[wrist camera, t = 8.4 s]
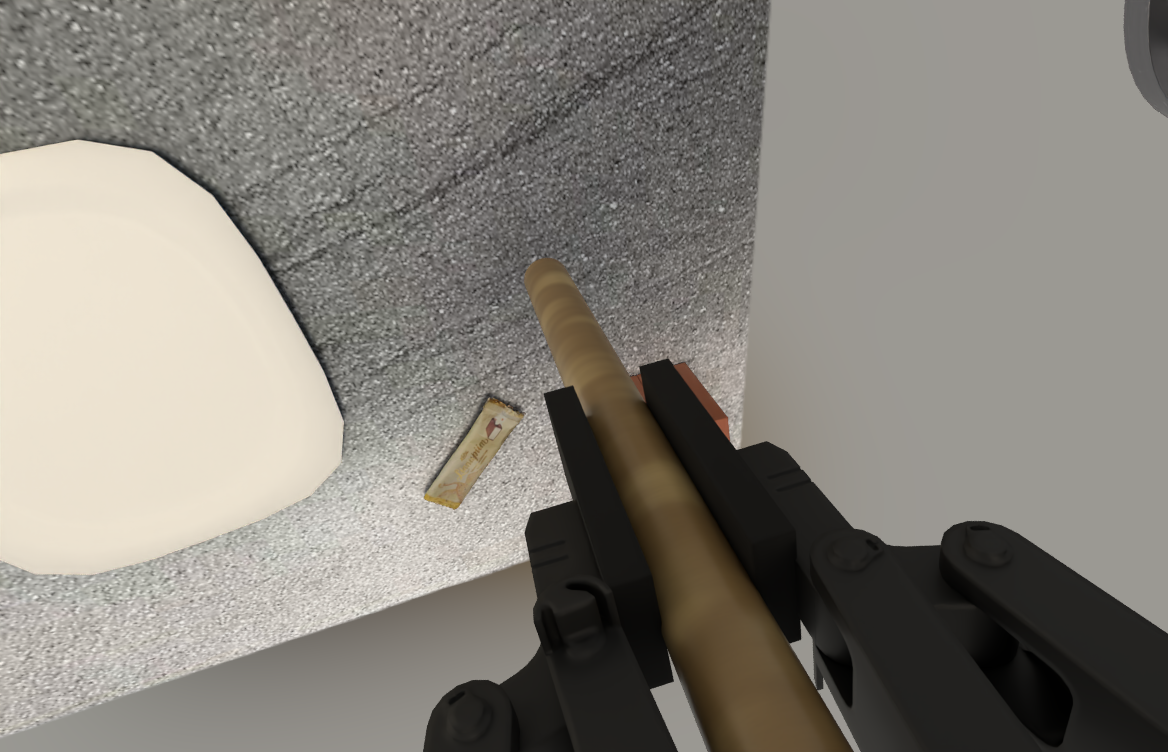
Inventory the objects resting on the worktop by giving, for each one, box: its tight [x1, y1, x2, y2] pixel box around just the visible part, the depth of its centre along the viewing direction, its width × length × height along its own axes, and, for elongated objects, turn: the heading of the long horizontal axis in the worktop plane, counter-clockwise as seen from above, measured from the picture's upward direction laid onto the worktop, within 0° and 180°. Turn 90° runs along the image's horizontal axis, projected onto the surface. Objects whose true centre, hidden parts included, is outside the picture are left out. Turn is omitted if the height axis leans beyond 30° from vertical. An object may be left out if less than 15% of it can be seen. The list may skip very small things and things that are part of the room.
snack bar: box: [424, 398, 526, 510], centre depth 47 cm, size 10×2×3 cm
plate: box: [0, 139, 344, 575], centre depth 39 cm, size 25×25×2 cm
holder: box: [631, 362, 730, 441], centre depth 45 cm, size 5×5×8 cm
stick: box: [524, 258, 854, 752], centre depth 18 cm, size 2×2×21 cm
